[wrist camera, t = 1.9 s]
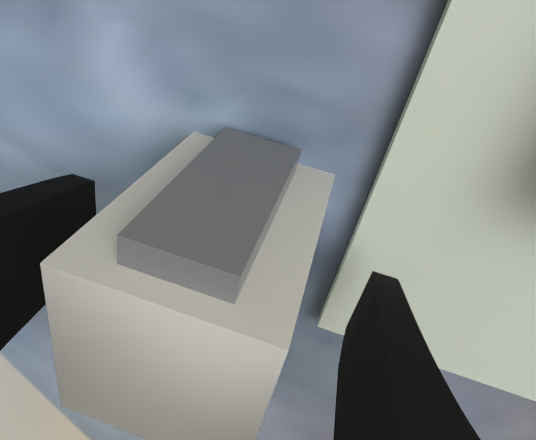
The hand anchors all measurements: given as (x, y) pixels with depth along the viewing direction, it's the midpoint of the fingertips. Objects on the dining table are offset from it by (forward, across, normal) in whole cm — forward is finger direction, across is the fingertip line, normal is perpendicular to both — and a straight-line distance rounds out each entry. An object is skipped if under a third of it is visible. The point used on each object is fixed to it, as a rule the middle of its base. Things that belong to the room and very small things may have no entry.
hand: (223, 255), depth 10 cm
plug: (+2, 0, 0) cm, 2 cm away
